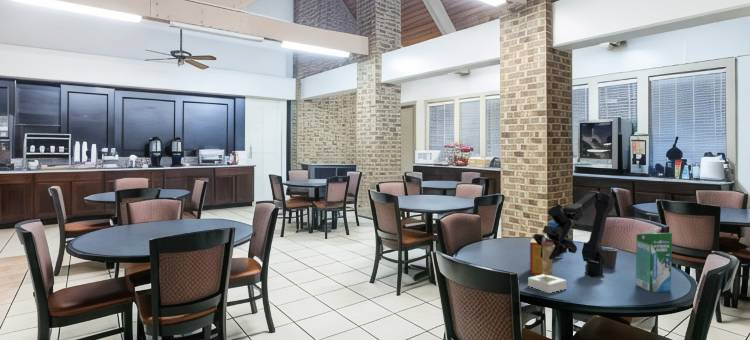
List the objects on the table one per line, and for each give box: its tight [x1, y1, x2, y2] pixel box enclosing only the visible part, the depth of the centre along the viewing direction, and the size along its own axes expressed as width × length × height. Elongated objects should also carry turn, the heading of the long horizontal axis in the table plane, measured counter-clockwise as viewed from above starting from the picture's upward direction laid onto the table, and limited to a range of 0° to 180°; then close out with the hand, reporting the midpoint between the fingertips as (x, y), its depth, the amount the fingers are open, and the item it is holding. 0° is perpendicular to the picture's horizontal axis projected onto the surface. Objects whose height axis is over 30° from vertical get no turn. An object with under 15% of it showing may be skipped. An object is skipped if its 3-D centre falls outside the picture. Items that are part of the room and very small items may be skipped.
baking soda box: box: [529, 238, 542, 275], centre depth 200 cm, size 10×6×16 cm
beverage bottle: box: [547, 220, 565, 259], centre depth 228 cm, size 8×8×20 cm
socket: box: [527, 274, 567, 294], centre depth 177 cm, size 11×11×4 cm
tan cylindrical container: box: [542, 241, 553, 276], centre depth 177 cm, size 5×5×14 cm
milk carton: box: [635, 230, 673, 293], centre depth 175 cm, size 9×9×25 cm
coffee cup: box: [602, 246, 619, 269], centre depth 207 cm, size 8×8×10 cm
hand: (545, 258), depth 176 cm, fingers closed on tan cylindrical container, 4 cm apart
